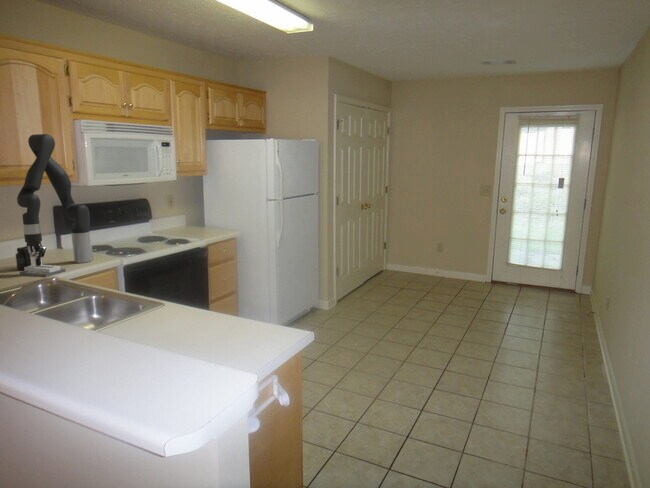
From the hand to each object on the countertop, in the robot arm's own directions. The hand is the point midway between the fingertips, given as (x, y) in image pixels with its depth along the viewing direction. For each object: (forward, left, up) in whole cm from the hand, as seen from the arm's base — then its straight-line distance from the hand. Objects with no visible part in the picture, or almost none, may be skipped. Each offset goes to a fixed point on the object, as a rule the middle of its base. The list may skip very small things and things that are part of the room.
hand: (36, 265), depth 234 cm
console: (0, +4, -4) cm, 5 cm away
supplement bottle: (-5, -14, -4) cm, 16 cm away
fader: (0, 0, -2) cm, 2 cm away
